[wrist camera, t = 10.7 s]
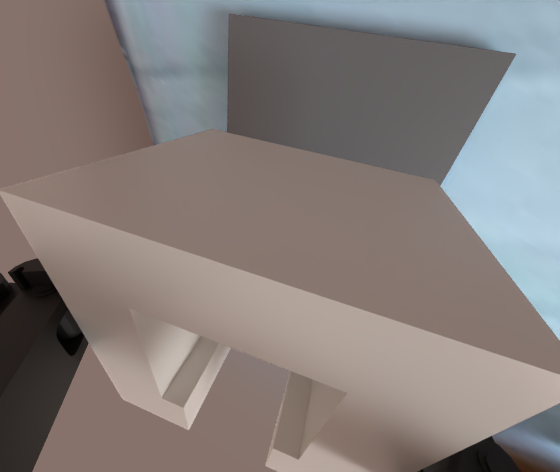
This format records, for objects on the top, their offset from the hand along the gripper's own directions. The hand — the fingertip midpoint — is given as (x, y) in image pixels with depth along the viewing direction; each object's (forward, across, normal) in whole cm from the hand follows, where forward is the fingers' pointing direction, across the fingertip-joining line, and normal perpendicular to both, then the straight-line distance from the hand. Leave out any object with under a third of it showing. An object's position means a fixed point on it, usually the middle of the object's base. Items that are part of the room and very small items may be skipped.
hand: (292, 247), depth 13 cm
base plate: (+9, 0, 0) cm, 9 cm away
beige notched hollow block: (+1, 0, 0) cm, 1 cm away
